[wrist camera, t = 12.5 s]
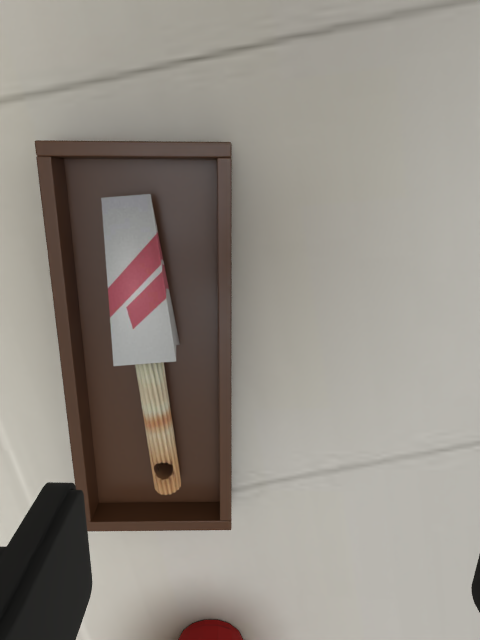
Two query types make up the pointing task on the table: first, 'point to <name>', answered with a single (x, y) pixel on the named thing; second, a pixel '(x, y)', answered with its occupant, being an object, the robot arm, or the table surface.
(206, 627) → the plastic cup
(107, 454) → the tray
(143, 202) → the paintbrush
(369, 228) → the table surface
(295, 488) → the table surface
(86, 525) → the robot arm
